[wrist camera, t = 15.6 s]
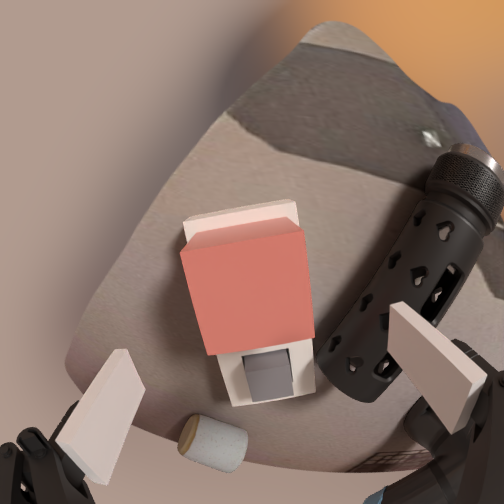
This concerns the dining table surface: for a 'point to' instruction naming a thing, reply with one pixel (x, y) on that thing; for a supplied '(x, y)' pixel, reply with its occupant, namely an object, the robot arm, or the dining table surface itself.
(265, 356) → the button plain
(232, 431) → the ceramic mug
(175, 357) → the dining table surface
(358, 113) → the dining table surface
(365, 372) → the muzzle brake
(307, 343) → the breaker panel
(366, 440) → the dining table surface
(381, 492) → the robot arm
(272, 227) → the salmon red cube
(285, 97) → the dining table surface
